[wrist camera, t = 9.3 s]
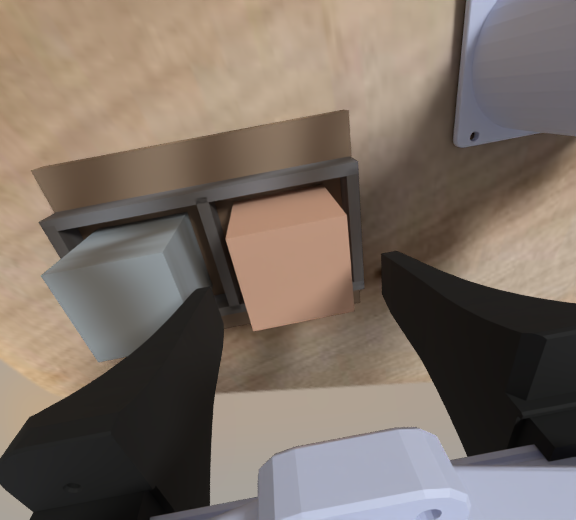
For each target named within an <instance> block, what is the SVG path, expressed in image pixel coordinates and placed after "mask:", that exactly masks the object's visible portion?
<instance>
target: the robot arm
mask: <svg viewBox="0 0 576 520" xmlns="http://www.w3.org/2000/svg"><path fill="white" fill-rule="evenodd" d="M473 132H474V133H475V136H474V138H473V139H472V140H470V136H471V134H472V133H473ZM538 133H550V134H559V135H568V136H576V0H466V9H465V20H464V30H463V41H462V51H461V62H460V72H459V83H458V93H457V104H456V114H455V125H454V135H453V143H454V144H455V146H457V147H461V148H465V147H470V146H475V145H480V144H486V143H491V142H496V141H501V140H507V139H512V138H517V137H522V136H528V135H533V134H538ZM381 266H382V295H383V297H384V300H385V302H386V304H387V306H388V308H389V310H390V312H391V314H392V316H393V317H394V319H395V320H396V322H397V323H398V325H399V326H400V328H401V330H402V331H403V333H404V334H405V336H406V337H407V339H408V340H409V342H410V343H411V345H412V346H413V348H414V349H415V351H416V352H417V354H418V355H419V357H420V359H421V360H422V362H423V364H424V365H425V367H426V369H427V371H428V373H429V375H430V377H431V379H432V381H433V383H434V385H435V387H436V389H437V391H438V393H439V395H440V397H441V399H442V401H443V403H444V405H445V407H446V410H447V412H448V414H449V416H450V418H451V420H452V423H453V425H454V427H455V429H456V431H457V433H458V436H459V438H460V440H461V443H462V445H463V447H464V449H465V452H466V454H467V457H465V458H459V459H454V460H449V458H448V456H447V454H446V453H445V451H444V449H443V447H442V445H441V443H440V441H439V439H438V437H437V436H436V435H434V434H432V433H429V432H427V431H425V430H422V429H420V428H417V427H401V428H391V429H386V430H380V431H375V432H370V433H365V434H359V435H354V436H349V437H344V438H339V439H333V440H328V441H323V442H318V443H312V444H307V445H302V446H296V447H293V448H290V449H287V450H284V451H282V452H279V453H276V454H274V455H273V456H272V457H271V458H270V459H269V460H268V461H267V462H266V463H265V464H264V465H263V466H262V467H261V468H260V469H259V474H258V497H254V498H249V499H243V500H238V501H233V502H227V503H222V504H217V505H212V506H210V462H211V437H212V419H213V404H214V397H215V390H216V384H217V379H218V373H219V367H220V361H221V356H222V349H223V338H224V323H223V320H222V317H221V314H220V311H219V309H218V306H217V303H216V300H215V297H214V294H213V291H212V289H211V286H208V287H203V288H198V289H196V290H194V291H193V292H192V294H191V295H190V296H189V297H188V298H187V299H186V300H185V301H184V302H183V304H182V305H181V306H180V307H179V308H178V309H177V310H176V311H175V312H174V313H173V315H172V316H171V317H170V318H169V319H168V320H167V321H166V322H165V323H164V324H163V325H162V326H161V327H160V328H159V329H158V330H157V331H156V332H155V333H154V334H153V335H152V336H151V337H150V338H149V339H148V340H146V341H145V342H144V343H143V344H142V345H141V346H140V347H138V348H137V349H136V350H135V351H134V352H132V353H131V354H130V355H129V356H127V357H126V358H125V359H123V360H122V361H121V362H119V363H118V364H117V365H115V366H114V367H112V368H111V369H110V370H108V371H107V372H106V373H104V374H103V375H101V376H100V377H98V378H97V379H95V380H94V381H92V382H91V383H89V384H88V385H86V386H84V387H83V388H81V389H79V390H78V391H76V392H75V393H73V394H71V395H69V396H68V397H66V398H64V399H62V400H61V401H59V402H57V403H55V404H53V405H51V406H50V407H48V408H46V409H44V410H42V411H41V412H39V413H37V414H35V415H34V416H31V417H29V419H28V420H27V421H26V423H25V424H24V426H23V427H22V428H21V430H20V431H19V433H18V434H17V435H16V437H15V438H14V440H13V441H12V442H11V444H10V445H9V447H8V448H7V450H6V451H5V453H4V454H3V455H2V457H1V458H0V484H1V486H2V487H3V488H4V489H5V490H6V491H8V492H9V493H10V494H11V495H13V496H14V497H15V498H16V499H18V500H19V501H20V502H21V503H23V504H24V505H25V506H26V507H28V508H29V509H30V510H31V511H33V514H32V516H31V518H30V520H576V303H567V302H560V301H554V300H547V299H541V298H535V297H530V296H524V295H520V294H515V293H511V292H506V291H502V290H498V289H494V288H490V287H487V286H483V285H480V284H477V283H473V282H470V281H467V280H464V279H461V278H459V277H456V276H454V275H451V274H448V273H446V272H443V271H441V270H438V269H436V268H434V267H431V266H429V265H427V264H425V263H423V262H420V261H418V260H416V259H414V258H412V257H409V256H407V255H405V254H403V253H400V252H397V251H393V252H388V253H383V254H381Z"/></svg>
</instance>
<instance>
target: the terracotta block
mask: <svg viewBox="0 0 576 520" xmlns="http://www.w3.org/2000/svg"><path fill="white" fill-rule="evenodd" d="M226 242H227V245H228V249H229V252H230V255H231V259H232V262H233V265H234V269H235V272H236V275H237V279H238V282H239V285H240V289H241V292H242V295H243V299H244V302H245V305H246V309H247V312H248V315H249V318H250V322H251V325H252V328H253V331H258V330H263V329H268V328H273V327H278V326H283V325H288V324H293V323H298V322H303V321H308V320H313V319H318V318H323V317H328V316H333V315H338V314H344V313H349V312H354V311H355V309H354V297H353V285H352V273H351V260H350V248H349V236H348V224H347V215H346V213H345V212H344V211H343V210H342V208H341V207H340V206H339V204H338V203H337V202H336V201H335V199H334V198H333V197H332V196H331V194H330V193H329V192H328V191H327V189H326V188H325V187H324V185H323V184H322V185H317V186H312V187H306V188H301V189H296V190H291V191H286V192H281V193H276V194H271V195H266V196H261V197H256V198H251V199H246V200H241V201H236V202H233V207H232V211H231V216H230V221H229V225H228V230H227V235H226Z"/></svg>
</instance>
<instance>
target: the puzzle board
mask: <svg viewBox="0 0 576 520" xmlns="http://www.w3.org/2000/svg"><path fill="white" fill-rule="evenodd" d="M31 172H32V174H33V175H34V177H35V179H36V181H37V182H38V184H39V186H40V188H41V189H42V191H43V193H44V195H45V196H46V198H47V200H48V202H49V203H50V205H51V207H52V209H53V210H54V212H55V213H54V214H52V215H51V216H49V217H47V218H45V219H43V220H42V221H40V222H39V224H40V225H41V227H42V229H43V230H44V232H45V234H46V235H47V237H48V239H49V240H50V242H51V244H52V245H53V247H54V248H55V250H56V252H57V253H58V255H59V257H60V258H61V259H60V260H59V261H58V262H57V263H56V264H54V265H53V266H52V267H51V268H49V269H48V270H47V271H46V272H45V273H43V274H42V275H41V277H42V278H43V280H44V281H45V283H46V284H47V286H48V287H49V289H50V290H51V292H52V293H53V295H54V296H55V298H56V299H57V301H58V302H59V304H60V305H61V307H62V308H63V310H64V311H65V313H66V314H67V316H68V317H69V319H70V320H71V322H72V323H73V325H74V326H75V328H76V329H77V331H78V332H79V334H80V335H81V337H82V338H83V340H84V341H85V343H86V344H87V346H88V347H89V349H90V350H91V352H92V353H93V355H94V356H95V358H96V359H97V361H98V362H102V361H107V360H112V359H118V358H123V357H127V356H129V355H130V354H131V353H132V352H134V351H135V350H136V349H137V348H138V347H140V346H141V345H142V344H143V343H144V342H145V341H146V340H148V339H149V338H150V337H151V336H152V335H153V334H154V333H155V332H156V331H157V330H158V329H159V328H160V327H161V326H162V325H163V324H164V323H165V322H166V321H167V320H168V319H169V318H170V317H171V316H172V315H173V313H174V312H175V311H176V310H177V309H178V308H179V307H180V306H181V305H182V304H183V302H184V301H185V300H186V299H187V298H188V297H189V296H190V295H191V294H192V292H193V291H194V290H196V289H198V288H203V287H208V286H211V289H212V291H213V294H214V297H215V300H216V303H217V306H218V309H219V311H220V314H221V317H222V320H223V323H224V329H225V328H230V327H235V326H241V325H246V324H251V322H250V318H249V315H248V312H247V309H246V305H245V302H244V299H243V295H242V292H241V289H240V285H239V282H238V279H237V275H236V272H235V269H234V265H233V262H232V259H231V255H230V252H229V249H228V245H227V242H226V235H227V230H228V225H229V221H230V216H231V211H232V207H233V202H236V201H241V200H246V199H251V198H256V197H261V196H266V195H271V194H276V193H281V192H286V191H291V190H296V189H301V188H306V187H312V186H317V185H322V184H323V185H324V187H325V188H326V189H327V191H328V192H329V193H330V194H331V196H332V197H333V198H334V199H335V201H336V202H337V203H338V204H339V206H340V207H341V208H342V210H343V211H344V212H345V213H346V215H347V224H348V236H349V248H350V260H351V273H352V285H353V297H354V304H355V303H360V291H359V290H360V289H364V271H363V251H362V232H361V212H360V192H359V172H358V161H356V160H355V159H353V158H352V157H351V142H350V125H349V110H340V111H334V112H329V113H324V114H318V115H313V116H308V117H303V118H297V119H292V120H287V121H282V122H276V123H271V124H266V125H260V126H255V127H250V128H245V129H239V130H234V131H229V132H224V133H218V134H213V135H208V136H202V137H197V138H192V139H187V140H181V141H176V142H171V143H166V144H160V145H155V146H150V147H144V148H139V149H134V150H129V151H123V152H118V153H113V154H107V155H102V156H97V157H92V158H86V159H81V160H76V161H71V162H65V163H60V164H55V165H49V166H44V167H41V168H38V169H34V170H31Z"/></svg>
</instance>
